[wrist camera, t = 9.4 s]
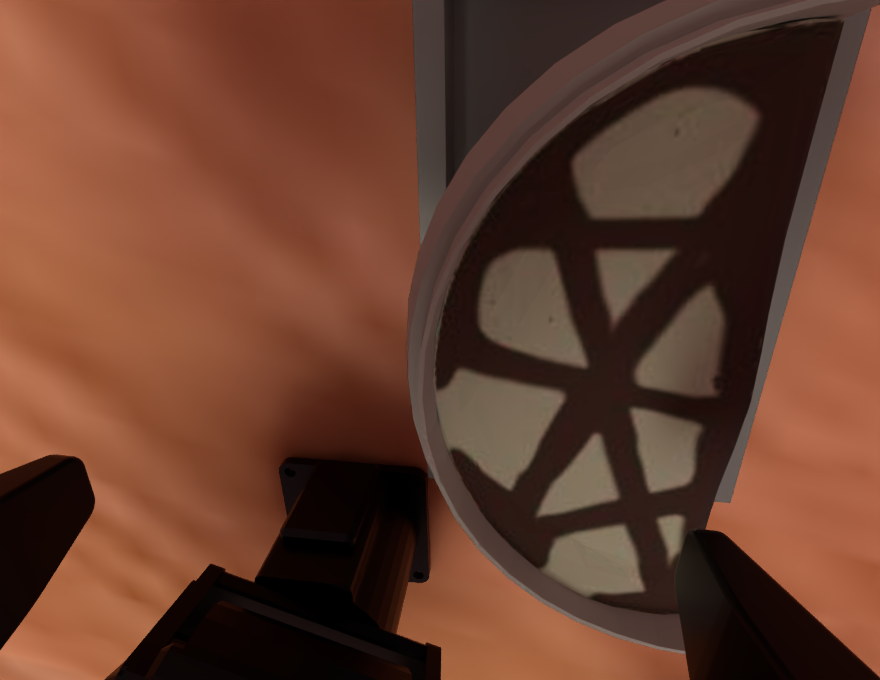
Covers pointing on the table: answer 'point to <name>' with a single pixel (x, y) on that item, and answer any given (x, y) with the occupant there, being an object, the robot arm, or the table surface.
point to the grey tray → (525, 60)
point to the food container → (615, 297)
